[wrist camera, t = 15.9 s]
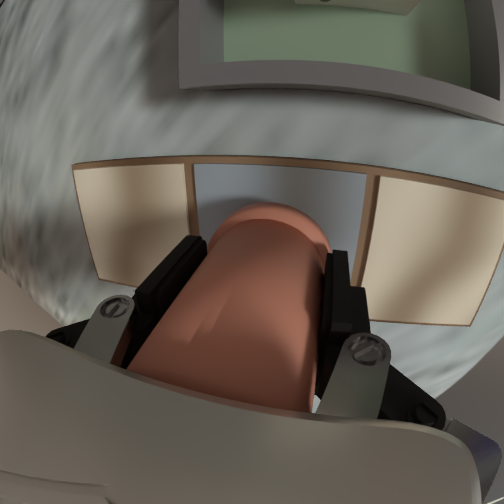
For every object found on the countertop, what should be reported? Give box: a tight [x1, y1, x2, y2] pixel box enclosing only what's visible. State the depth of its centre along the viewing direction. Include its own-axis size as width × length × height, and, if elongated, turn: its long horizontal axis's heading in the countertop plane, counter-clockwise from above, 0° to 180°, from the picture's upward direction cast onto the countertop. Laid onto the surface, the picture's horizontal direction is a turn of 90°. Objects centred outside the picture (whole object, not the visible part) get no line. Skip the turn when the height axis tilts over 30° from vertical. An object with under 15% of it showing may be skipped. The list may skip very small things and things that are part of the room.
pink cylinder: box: [126, 202, 332, 413], centre depth 8 cm, size 5×5×11 cm
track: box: [72, 155, 504, 326], centre depth 14 cm, size 24×8×1 cm, turn 91°
